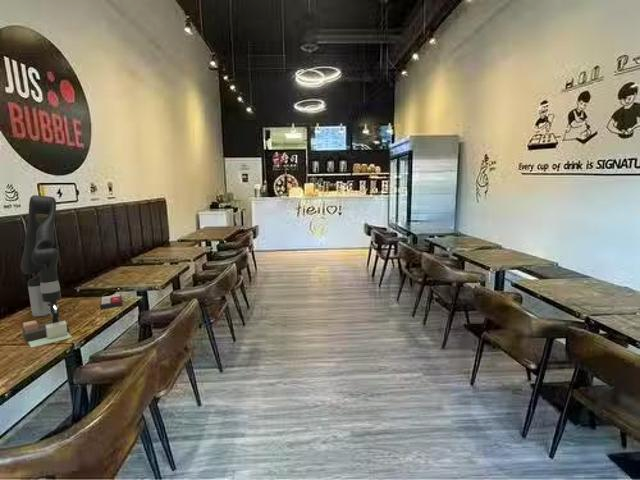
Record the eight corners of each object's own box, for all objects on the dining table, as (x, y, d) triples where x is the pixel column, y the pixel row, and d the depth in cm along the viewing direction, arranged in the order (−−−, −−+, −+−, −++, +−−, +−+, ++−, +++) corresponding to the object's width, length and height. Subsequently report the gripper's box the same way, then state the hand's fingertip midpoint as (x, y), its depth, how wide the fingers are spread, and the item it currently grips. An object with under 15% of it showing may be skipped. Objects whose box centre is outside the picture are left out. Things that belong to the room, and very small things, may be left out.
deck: (23, 336, 196) (22, 328, 195) (63, 326, 207) (62, 318, 207) (26, 342, 187) (25, 334, 187) (69, 332, 198) (67, 324, 198)
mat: (28, 342, 187) (28, 341, 187) (68, 332, 198) (67, 332, 198) (31, 348, 181) (31, 347, 181) (72, 337, 191) (72, 336, 191)
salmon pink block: (23, 328, 194) (22, 322, 194) (36, 326, 198) (35, 320, 197) (25, 332, 190) (24, 326, 189) (38, 329, 193) (37, 323, 193)
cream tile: (45, 325, 189) (46, 328, 187) (65, 320, 195) (66, 323, 193) (46, 335, 192) (47, 338, 190) (65, 330, 197) (67, 334, 195)
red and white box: (99, 304, 233) (101, 296, 246) (100, 311, 233) (101, 302, 247) (121, 300, 237) (121, 293, 250) (121, 307, 238) (121, 299, 251)
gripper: (62, 291, 189) (67, 326, 191) (57, 286, 199) (62, 320, 201) (43, 294, 184) (49, 331, 187) (38, 289, 194) (44, 324, 196)
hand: (55, 325), depth 194 cm, fingers closed
